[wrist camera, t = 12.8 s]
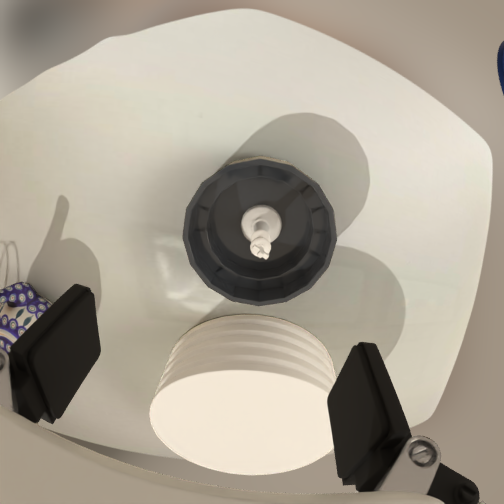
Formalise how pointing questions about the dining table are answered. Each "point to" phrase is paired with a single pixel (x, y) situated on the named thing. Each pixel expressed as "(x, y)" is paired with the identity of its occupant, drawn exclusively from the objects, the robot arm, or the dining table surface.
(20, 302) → the teapot
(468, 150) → the dining table surface
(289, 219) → the grey faceted round tub
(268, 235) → the chess piece
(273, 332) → the plate stack
